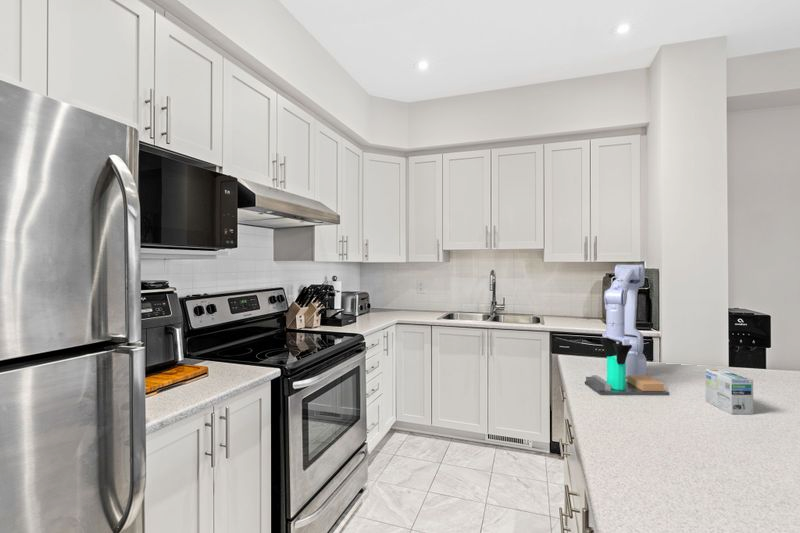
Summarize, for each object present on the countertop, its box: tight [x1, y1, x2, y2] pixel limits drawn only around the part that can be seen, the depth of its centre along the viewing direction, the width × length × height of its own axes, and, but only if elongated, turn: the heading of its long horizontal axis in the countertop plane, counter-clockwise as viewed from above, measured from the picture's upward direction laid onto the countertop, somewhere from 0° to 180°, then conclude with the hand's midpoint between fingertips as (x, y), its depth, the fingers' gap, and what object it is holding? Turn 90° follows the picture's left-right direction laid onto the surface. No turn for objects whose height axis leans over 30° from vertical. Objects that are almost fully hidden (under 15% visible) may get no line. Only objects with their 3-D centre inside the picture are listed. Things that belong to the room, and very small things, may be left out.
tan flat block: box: [626, 374, 665, 391], centre depth 140 cm, size 7×10×2 cm
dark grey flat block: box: [584, 375, 670, 396], centre depth 140 cm, size 23×12×4 cm, turn 89°
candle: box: [606, 355, 627, 390], centre depth 139 cm, size 6×6×12 cm
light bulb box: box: [705, 368, 754, 415], centre depth 122 cm, size 11×7×11 cm, turn 179°
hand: (615, 361), depth 140 cm, fingers open, 7 cm apart
